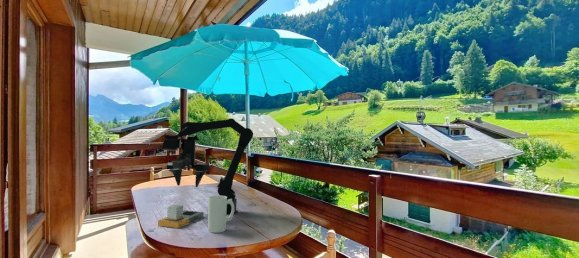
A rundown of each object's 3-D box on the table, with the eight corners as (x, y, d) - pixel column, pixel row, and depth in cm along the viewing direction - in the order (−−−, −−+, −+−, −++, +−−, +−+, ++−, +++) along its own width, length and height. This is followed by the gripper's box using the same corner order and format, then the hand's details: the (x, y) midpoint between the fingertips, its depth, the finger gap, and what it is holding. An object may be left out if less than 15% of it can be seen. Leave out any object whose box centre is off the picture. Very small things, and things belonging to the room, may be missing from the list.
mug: (210, 234, 109) (211, 199, 109) (204, 229, 115) (205, 196, 115) (237, 230, 115) (238, 197, 115) (230, 225, 120) (231, 194, 120)
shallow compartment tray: (203, 216, 132) (203, 212, 132) (178, 228, 115) (178, 222, 115) (185, 214, 134) (185, 210, 134) (157, 225, 118) (158, 220, 118)
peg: (182, 223, 122) (182, 205, 122) (176, 226, 118) (176, 207, 118) (173, 222, 123) (174, 204, 123) (167, 225, 119) (167, 206, 119)
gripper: (158, 150, 132) (157, 187, 131) (196, 152, 126) (195, 190, 126) (174, 149, 142) (173, 183, 142) (211, 151, 137) (210, 186, 137)
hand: (187, 186), depth 136 cm, fingers open, 9 cm apart
